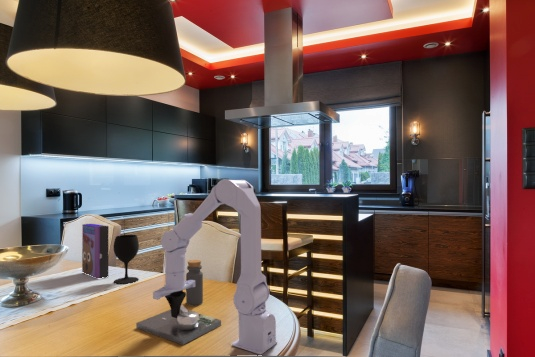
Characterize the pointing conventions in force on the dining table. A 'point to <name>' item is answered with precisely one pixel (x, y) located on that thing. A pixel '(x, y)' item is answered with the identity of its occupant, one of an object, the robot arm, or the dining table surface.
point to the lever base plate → (168, 328)
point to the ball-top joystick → (187, 319)
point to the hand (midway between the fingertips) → (175, 317)
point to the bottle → (195, 293)
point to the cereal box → (95, 250)
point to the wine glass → (126, 254)
